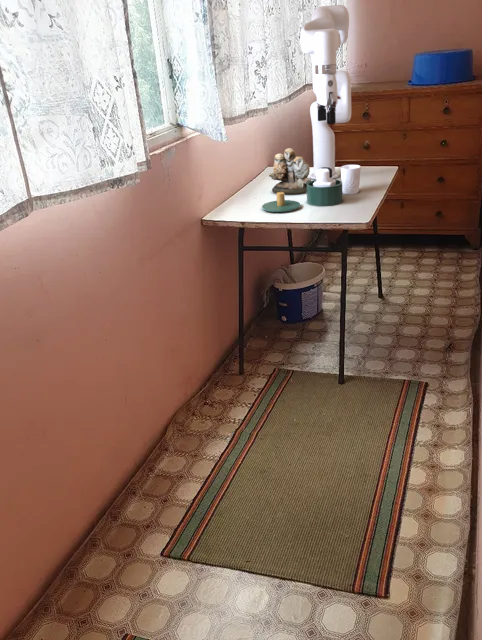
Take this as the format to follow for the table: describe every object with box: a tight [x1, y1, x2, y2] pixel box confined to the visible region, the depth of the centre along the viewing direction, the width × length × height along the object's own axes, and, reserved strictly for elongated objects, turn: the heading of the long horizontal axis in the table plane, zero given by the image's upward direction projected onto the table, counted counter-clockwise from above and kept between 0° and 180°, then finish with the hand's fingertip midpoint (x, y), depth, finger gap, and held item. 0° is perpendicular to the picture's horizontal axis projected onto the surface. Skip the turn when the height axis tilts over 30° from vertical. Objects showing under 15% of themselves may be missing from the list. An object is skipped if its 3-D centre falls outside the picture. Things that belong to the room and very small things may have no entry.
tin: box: [306, 178, 344, 207], centre depth 234 cm, size 14×14×7 cm
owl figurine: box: [268, 147, 312, 196], centre depth 249 cm, size 18×12×17 cm, turn 76°
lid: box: [261, 191, 301, 213], centre depth 230 cm, size 15×15×6 cm
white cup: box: [340, 164, 362, 195], centre depth 243 cm, size 8×8×10 cm
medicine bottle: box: [313, 167, 337, 187], centre depth 233 cm, size 7×7×12 cm
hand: (326, 122), depth 223 cm, fingers open, 9 cm apart
